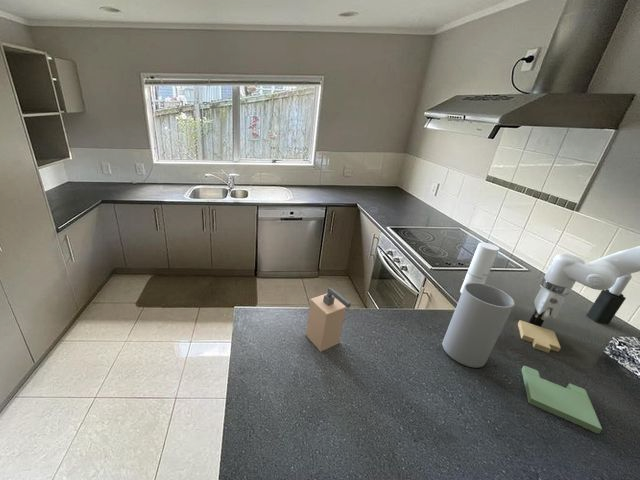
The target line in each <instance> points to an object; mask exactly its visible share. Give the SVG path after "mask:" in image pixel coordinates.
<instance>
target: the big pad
mask: <svg viewBox="0 0 640 480" xmlns="http://www.w3.org/2000/svg"><path fill="white" fill-rule="evenodd" d="M521 375H522V379H523V384H524V389H525V393H526V397H527V403H528V404H530V405H532V406H534V407H537V408H539V409H541V410H543V411H545V412H548V413H550V414H552V415H554V416H557V417H559V418H561V419H563V418H564V420H566V421H568V420H569V421H568V422H570V421H571V422H570V423H572V422H573V423H572V424H574V425H577V424H578V425H577V426H579V425H580V426H579V427H581V426H582V428H584V429H586V430H588V429H589V431H590V430H591V431H590V432H593V433H595V434H597V433H598V434H597V435H599V434H600V433H601V432H602V431H603V428H602V425H601V423H600V421H599V418H598V416H597V414H596V411H595V409H594V406H593V404H592V402H591V399H590V397H589V394H588V393H587V389H586V388H582V387H580V386H578V385H575V384H573V383H568V384H567V385H566V387H564V386H562V385H559V384H557V383H555V382H552V381H550V380H547V379H545V378H542V377H541V375H540V373H539V370H537V369H535V368H532V367H530V366H527V365H523V366H522V368H521Z"/></svg>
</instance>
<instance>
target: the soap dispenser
mask: <svg viewBox="0 0 640 480" xmlns="http://www.w3.org/2000/svg"><path fill="white" fill-rule="evenodd" d="M351 305H352V303H351V302H350V301H349V300H348V299H346V298H345V297H344V296H343V295H341V294H340V293H339V292H338V291H337V290H335V289H334V288H333V287H328V289H327V293H324V294H321V295H317V296H315V297H312V298H310V302H309V307H308V315H307V322H306V330H305V336H306V337H307V338H308V339H309V341H311V343H312V344H313V345H314V347H316V348H317V350H318V351H319V352H320V353H321V352H323V351H326V350H328V349H330V348H333V347H334V346H337V345H338V344H340V341H341V337H342V332H343V331H342V330H343V327H344V320H345V316H346V311H347V309H349V308H351Z"/></svg>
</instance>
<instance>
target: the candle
mask: <svg viewBox="0 0 640 480" xmlns="http://www.w3.org/2000/svg"><path fill="white" fill-rule="evenodd" d="M632 278H633V276H632V273H631V274H628V275H625V276H621V277H618V278H617V279H616V282H615V284H614V285H613V286H612V287H611V288H609V289H606V290H600V293H599V294H598V296H597V297H596V299H595V300H594V302H593V304H592V305H591V307H590V308H589V310H588V312H587V313H586V316H587V317H588V318H589V319H591V320H592V321H593V322H595V323H597V324H605V325H609V324H610V323H611V322H612V320H613V319H614V317H615V316H616V314H617V313H618V312H619V309H621V306H622V305H623V304H624V302H625V301H626V299H627V298H626V297H625V296H624V294H623V292H624V290H625V289H626V287H627V285H628V284H629V282H630V281H631V279H632Z"/></svg>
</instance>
